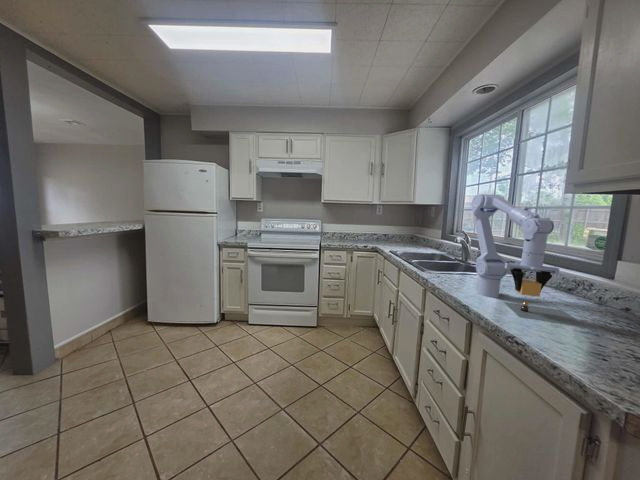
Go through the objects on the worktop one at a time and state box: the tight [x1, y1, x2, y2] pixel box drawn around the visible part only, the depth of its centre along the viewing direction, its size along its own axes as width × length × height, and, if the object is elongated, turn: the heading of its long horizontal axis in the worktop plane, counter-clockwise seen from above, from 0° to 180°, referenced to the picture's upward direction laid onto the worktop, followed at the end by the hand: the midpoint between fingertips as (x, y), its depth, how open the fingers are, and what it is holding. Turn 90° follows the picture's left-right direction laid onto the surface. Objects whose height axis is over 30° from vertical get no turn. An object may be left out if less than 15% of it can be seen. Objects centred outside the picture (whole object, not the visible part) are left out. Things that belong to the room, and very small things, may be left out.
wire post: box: [521, 301, 529, 312], centre depth 85 cm, size 2×2×3 cm
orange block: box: [515, 278, 542, 298], centre depth 85 cm, size 5×5×4 cm
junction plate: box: [503, 301, 591, 329], centre depth 84 cm, size 15×18×1 cm
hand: (527, 291), depth 85 cm, fingers closed on orange block, 5 cm apart
